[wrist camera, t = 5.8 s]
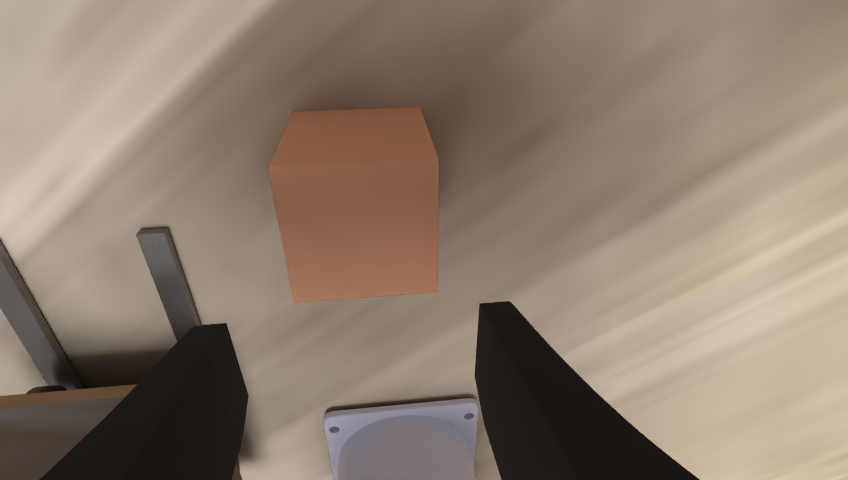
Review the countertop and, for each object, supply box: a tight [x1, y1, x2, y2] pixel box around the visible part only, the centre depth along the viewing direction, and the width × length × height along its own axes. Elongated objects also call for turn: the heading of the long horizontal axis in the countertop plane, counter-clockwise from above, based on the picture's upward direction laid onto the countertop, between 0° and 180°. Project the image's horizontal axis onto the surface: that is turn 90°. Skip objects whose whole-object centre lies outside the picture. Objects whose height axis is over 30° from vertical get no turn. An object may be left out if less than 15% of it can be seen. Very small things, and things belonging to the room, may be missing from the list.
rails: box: [0, 228, 201, 390], centre depth 21 cm, size 13×7×1 cm, turn 1°
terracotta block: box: [268, 107, 439, 303], centre depth 15 cm, size 4×4×5 cm
